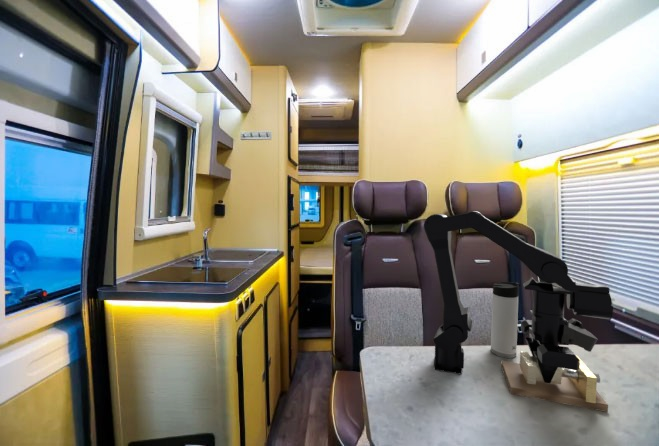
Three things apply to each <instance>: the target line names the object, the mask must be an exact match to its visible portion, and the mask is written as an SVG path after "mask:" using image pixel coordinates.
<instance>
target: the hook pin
mask: <svg viewBox="0 0 659 446" xmlns="http://www.w3.org/2000/svg"><path fill="white" fill-rule="evenodd" d="M519 364H520V369H521V371H522V373H523V375H524V377H525V380H526V382H527V383H529V384H534V385H536V380H537V381H543V382H544V380H543V377H542V374H541V372H540V369H539V366H538V363H537V361H536V358H535V357H533V356H532V355H530V353H529V352H528V351H521V350H520V353H519ZM592 373H593V374H594V375H595V377H596V378H597V384H598V383H599V384H600V383H601V377H600V376H601V375H600V374H599V373H596V372H592ZM561 377H566V378H572V379H578V380H579V371H577V370H571V369H566V368H560V367H558V368H557V370H556V372H555V374H554V376H553V378H552V381H551V383H555V384H561Z"/></svg>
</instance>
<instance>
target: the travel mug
mask: <svg viewBox="0 0 659 446" xmlns="http://www.w3.org/2000/svg"><path fill="white" fill-rule="evenodd" d="M520 287H521V284H520V283H518V282H511V281H510V282H509V281H500V282H495V283H493V285H492V299H491V300H492V301H491V302H492V303H491V327H490V328H491V330H490V332H491V333H490V334H491V335H490V336H491V337H490V351H491V353H493V354H494V355H496V356H498V357H501V358H504V359H505V358H507V359H513V358H516V356H517V348H518V347H517V345H518V343H517V342H518V323H519V321H518V319H519V315H518V313H519V288H520Z"/></svg>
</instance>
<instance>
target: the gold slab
mask: <svg viewBox="0 0 659 446" xmlns="http://www.w3.org/2000/svg"><path fill="white" fill-rule="evenodd" d="M575 355H576V356H577V357H578V359H579V360H580V366H579V370H577V371H579V380H578V379H572V378H569V379H570V381H571V382H572V383H573V385H574V386H575V387H576V389H577V390H578V392H579V393H580V394H581V396H582V397H583V399H584V400H585V401H586V402H590V403H596V391H597V384H598V383H597V378H596V377H595V375H594V374H593V373H594V372H592V371H591V370H590V369H589V367H587V365H586V364H585V363H584V362H583V361H582V359H580V357H579V356H578V355H577V354H575ZM571 370H573V369H571Z"/></svg>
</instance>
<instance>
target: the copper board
mask: <svg viewBox="0 0 659 446" xmlns="http://www.w3.org/2000/svg"><path fill="white" fill-rule="evenodd" d="M500 365H501V369H502V373H503V375H504V378H505V382H506V384H507V386H508V389H509V392H510V394H511V395H515V396H520V397H521V396H522V397H527V398H532V399H536V400H544V401H549V402H553V403H559V404H564V405H569V406H574V407H580V408H585V409H591V410H596V411H603V412H606V413H607V412H609V404H608V402H607V401H606V399H604V397H603V396H602V395H601V394H600V393H599V391H597V390H596V403H590V402H586V401H585V400H584V399H583V397H582V396H581V394H580V393H579V392H578V390H577V389H576V387H575V386H574V385H573V383H572V382H571V381H570V379H569V378H566V377H561V384H555V383H545V382H543V381H537V380H536V385H534V384H529V383H527V382H526V380H525V377H524V375H523V373H522V371H521V369H520V363H518V362H517V363H516V362H511V361H505V360H504V361H503V360H501V364H500Z"/></svg>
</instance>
